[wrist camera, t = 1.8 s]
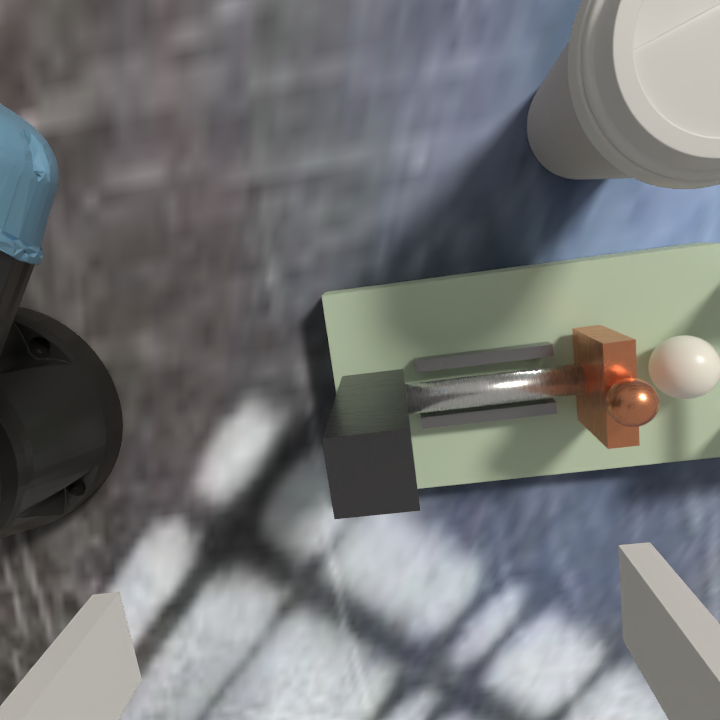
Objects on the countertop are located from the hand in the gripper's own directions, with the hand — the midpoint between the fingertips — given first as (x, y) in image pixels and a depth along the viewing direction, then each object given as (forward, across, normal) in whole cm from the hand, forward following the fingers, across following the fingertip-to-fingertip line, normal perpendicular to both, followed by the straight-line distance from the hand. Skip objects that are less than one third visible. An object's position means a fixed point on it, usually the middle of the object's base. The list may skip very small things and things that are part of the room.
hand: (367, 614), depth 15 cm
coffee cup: (+23, +14, +14) cm, 31 cm away
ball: (+19, +17, 0) cm, 26 cm away
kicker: (+20, +6, 0) cm, 21 cm away
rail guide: (+21, +6, 0) cm, 22 cm away
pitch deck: (+23, +9, 0) cm, 25 cm away
